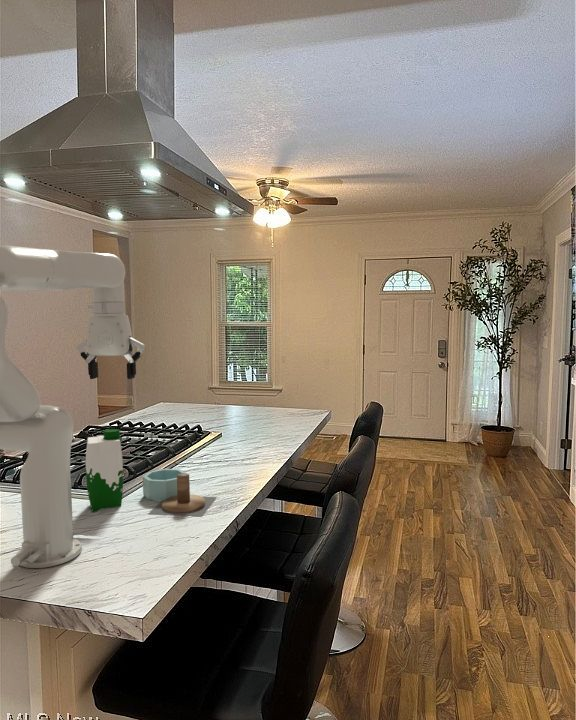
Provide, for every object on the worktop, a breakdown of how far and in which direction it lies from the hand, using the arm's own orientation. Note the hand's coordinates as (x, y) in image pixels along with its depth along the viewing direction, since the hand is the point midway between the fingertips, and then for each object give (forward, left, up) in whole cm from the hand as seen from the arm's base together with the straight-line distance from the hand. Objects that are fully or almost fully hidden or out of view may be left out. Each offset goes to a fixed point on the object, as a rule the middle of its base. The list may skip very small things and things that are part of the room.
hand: (112, 378), depth 134 cm
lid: (+5, -16, -34) cm, 38 cm away
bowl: (+13, -8, -34) cm, 37 cm away
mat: (+5, -16, -34) cm, 38 cm away
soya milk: (+4, +5, -35) cm, 35 cm away
